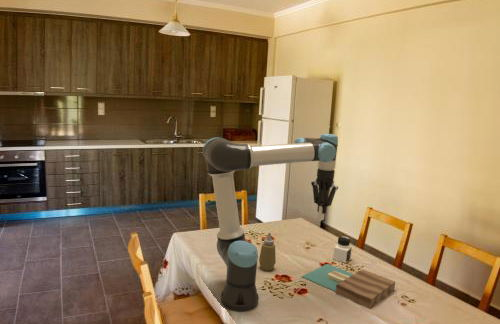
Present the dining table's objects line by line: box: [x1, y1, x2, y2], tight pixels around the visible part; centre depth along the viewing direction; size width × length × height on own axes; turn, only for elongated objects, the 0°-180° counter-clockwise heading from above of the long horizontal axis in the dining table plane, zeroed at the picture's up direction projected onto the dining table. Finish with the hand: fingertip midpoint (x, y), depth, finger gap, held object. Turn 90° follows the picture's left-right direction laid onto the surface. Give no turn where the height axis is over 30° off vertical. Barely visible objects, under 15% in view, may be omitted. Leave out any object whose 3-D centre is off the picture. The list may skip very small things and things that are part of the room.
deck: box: [335, 268, 396, 309], centre depth 170 cm, size 24×16×4 cm, turn 137°
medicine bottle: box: [332, 236, 352, 264], centre depth 203 cm, size 7×7×12 cm
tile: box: [327, 271, 349, 283], centre depth 179 cm, size 6×9×2 cm, turn 48°
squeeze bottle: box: [258, 232, 277, 272], centre depth 186 cm, size 8×8×18 cm
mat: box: [301, 263, 355, 293], centre depth 182 cm, size 22×18×1 cm
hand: (320, 219), depth 176 cm, fingers closed
